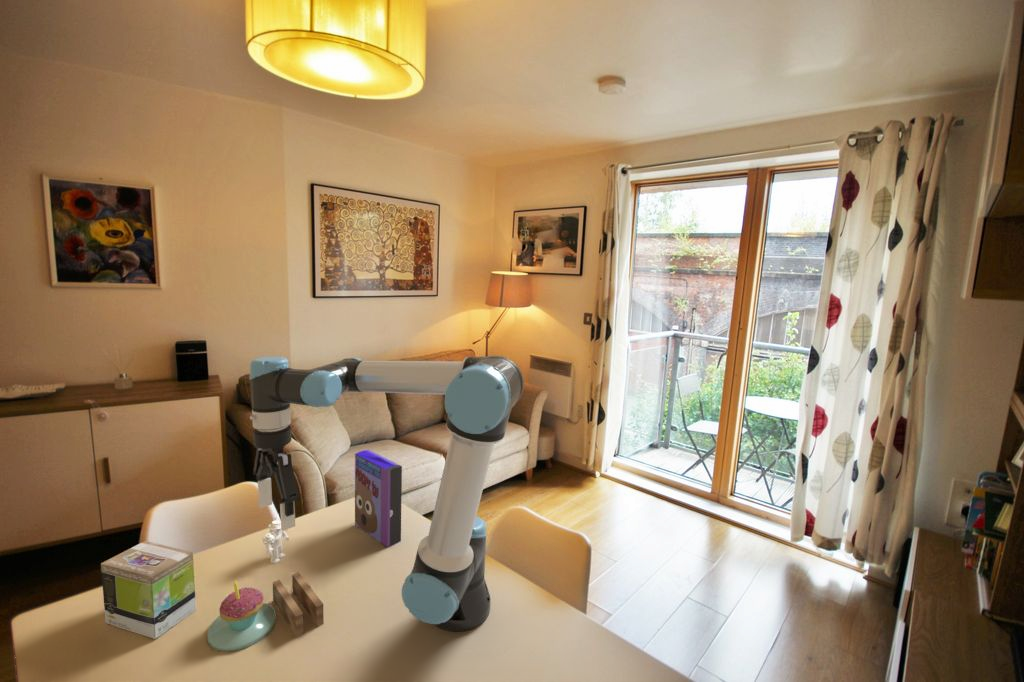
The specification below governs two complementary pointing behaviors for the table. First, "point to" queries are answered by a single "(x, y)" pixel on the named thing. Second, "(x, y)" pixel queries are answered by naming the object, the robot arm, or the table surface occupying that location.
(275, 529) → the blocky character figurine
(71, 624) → the table surface
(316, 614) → the brown flat block
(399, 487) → the cereal box
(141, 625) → the tea box
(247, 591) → the cupcake
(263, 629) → the plate
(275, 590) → the rail
